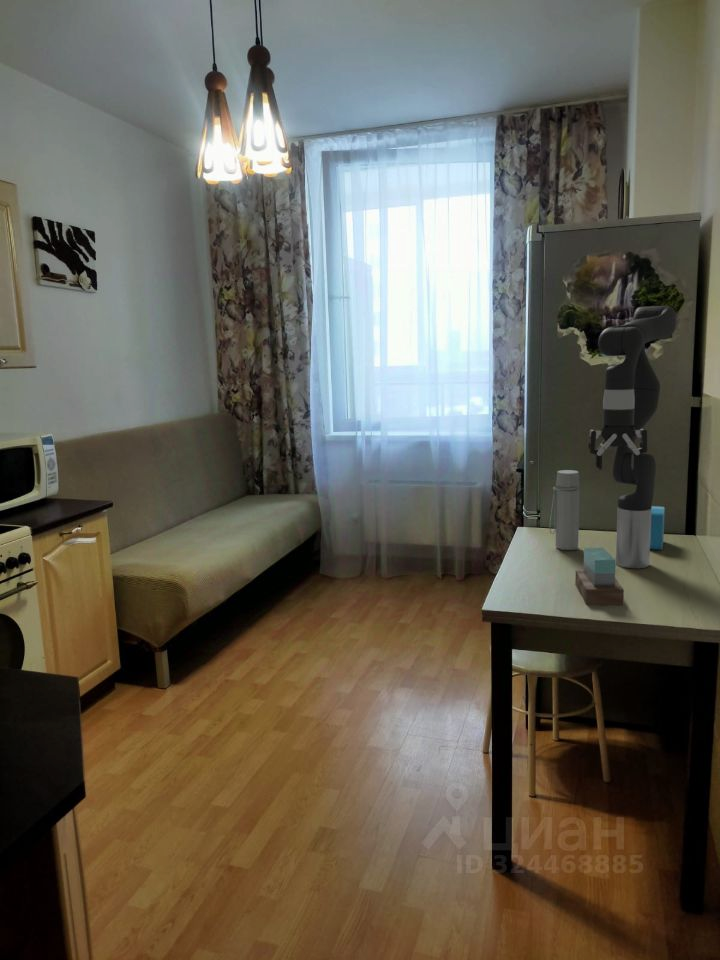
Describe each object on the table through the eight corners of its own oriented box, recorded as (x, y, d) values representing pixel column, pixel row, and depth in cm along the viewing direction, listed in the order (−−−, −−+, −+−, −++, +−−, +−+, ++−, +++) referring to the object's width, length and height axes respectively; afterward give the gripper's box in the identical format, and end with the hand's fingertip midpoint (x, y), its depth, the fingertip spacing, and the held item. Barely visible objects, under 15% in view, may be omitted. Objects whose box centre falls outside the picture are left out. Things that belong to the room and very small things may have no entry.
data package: (648, 540, 225) (649, 505, 223) (663, 541, 223) (664, 505, 221) (646, 550, 215) (648, 513, 213) (662, 551, 213) (663, 514, 211)
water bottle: (575, 544, 223) (577, 469, 219) (581, 551, 216) (582, 473, 211) (547, 544, 224) (548, 470, 220) (551, 551, 217) (552, 474, 212)
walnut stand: (575, 584, 186) (575, 570, 185) (609, 584, 185) (610, 570, 184) (585, 604, 171) (586, 589, 171) (623, 604, 170) (623, 589, 169)
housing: (594, 586, 172) (595, 560, 171) (583, 573, 183) (584, 547, 182) (614, 586, 172) (615, 559, 170) (602, 572, 182) (603, 547, 181)
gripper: (592, 408, 172) (591, 472, 175) (652, 407, 170) (649, 471, 173) (587, 406, 179) (585, 467, 182) (643, 405, 177) (641, 466, 180)
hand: (616, 469), depth 177 cm, fingers open, 8 cm apart
